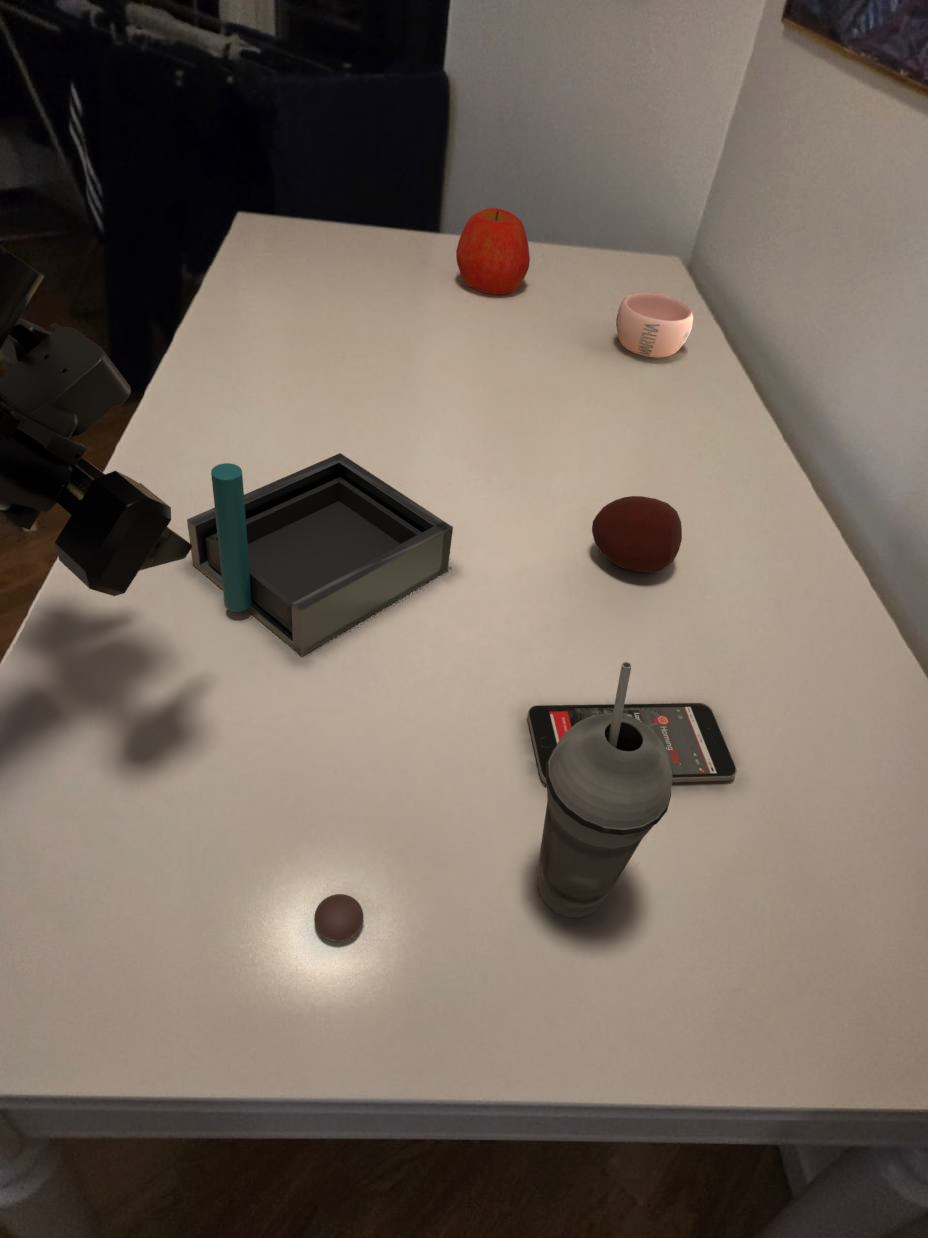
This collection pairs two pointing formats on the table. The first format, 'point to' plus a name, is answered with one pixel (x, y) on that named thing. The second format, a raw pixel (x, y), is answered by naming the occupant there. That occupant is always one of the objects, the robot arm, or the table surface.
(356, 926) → the chocolate truffle
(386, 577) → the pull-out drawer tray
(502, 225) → the apple
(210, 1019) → the table surface
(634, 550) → the potato
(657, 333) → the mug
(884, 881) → the table surface
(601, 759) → the beverage cup
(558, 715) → the smartphone
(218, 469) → the black compartment tray
